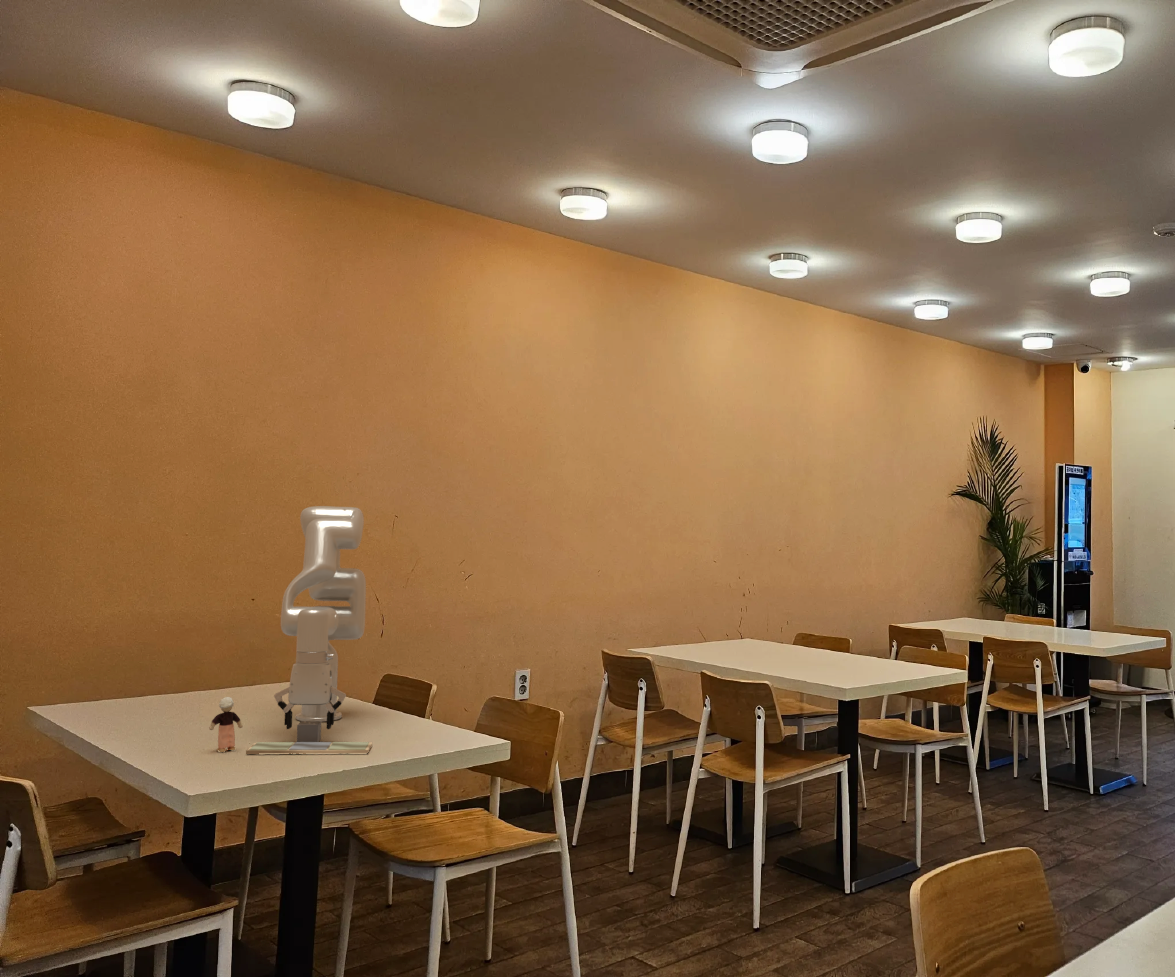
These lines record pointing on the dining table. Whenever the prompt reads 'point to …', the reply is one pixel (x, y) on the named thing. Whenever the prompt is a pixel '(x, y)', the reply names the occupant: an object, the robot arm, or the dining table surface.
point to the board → (309, 747)
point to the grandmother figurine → (226, 725)
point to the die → (309, 731)
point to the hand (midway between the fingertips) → (309, 728)
